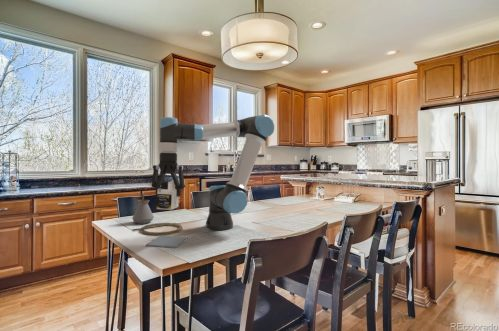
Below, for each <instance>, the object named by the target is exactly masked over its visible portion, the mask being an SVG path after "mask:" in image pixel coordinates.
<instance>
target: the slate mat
mask: <svg viewBox="0 0 499 331" xmlns="http://www.w3.org/2000/svg"><path fill="white" fill-rule="evenodd" d="M186 239H187V240H188V239H189V237H188V236H176V235H175V236H173V235H158V236H157V237H156V238H154V239H152V240H150V241H149V242H148V243H146V244H145V247H154V246H164V247H163V248H169V247H177V246H178V247H180V246H181V245H182V244H183V243H185V242H186V241H187V240H186ZM185 240H186V241H185ZM184 241H185V242H184ZM181 243H182V244H181ZM180 244H181V245H180ZM179 245H180V246H179ZM178 247H177V248H178Z"/></svg>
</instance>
